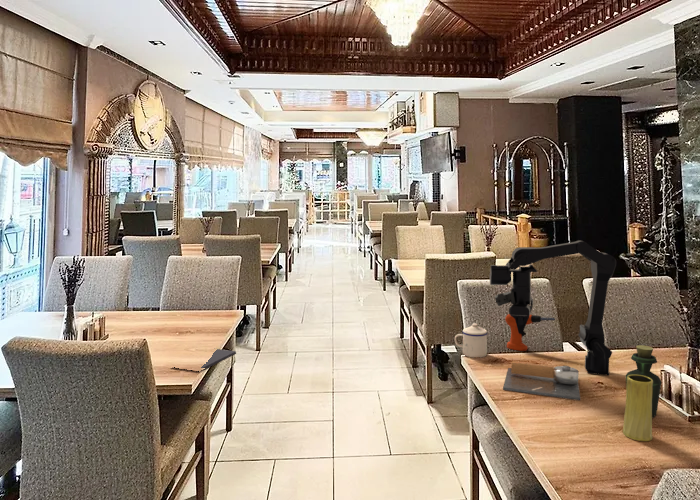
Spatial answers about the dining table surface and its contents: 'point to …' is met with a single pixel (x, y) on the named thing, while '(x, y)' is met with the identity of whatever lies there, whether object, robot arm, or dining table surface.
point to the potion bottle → (647, 372)
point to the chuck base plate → (540, 386)
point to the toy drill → (516, 337)
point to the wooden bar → (546, 371)
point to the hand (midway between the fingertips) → (521, 330)
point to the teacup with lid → (473, 341)
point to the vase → (638, 408)
